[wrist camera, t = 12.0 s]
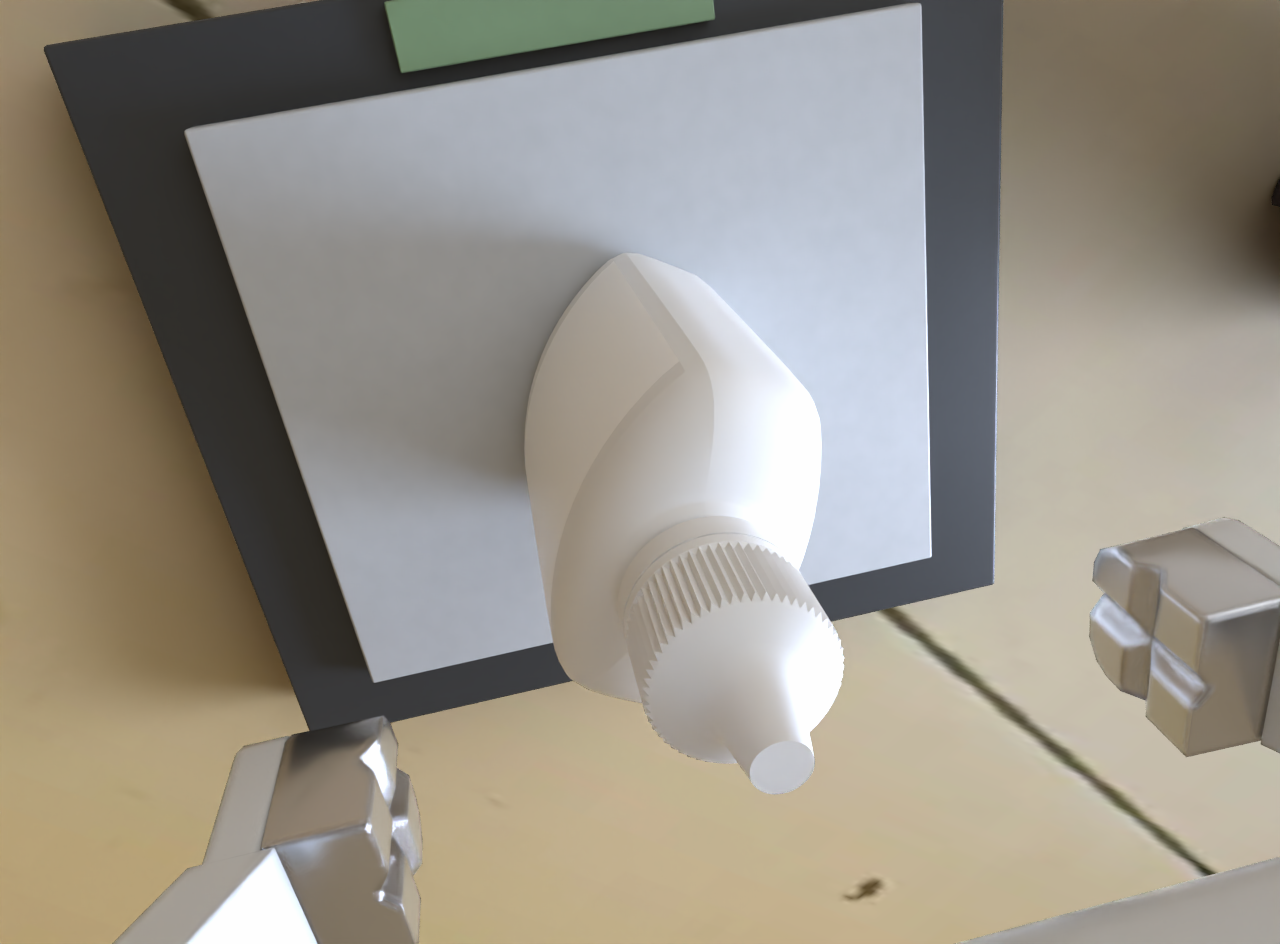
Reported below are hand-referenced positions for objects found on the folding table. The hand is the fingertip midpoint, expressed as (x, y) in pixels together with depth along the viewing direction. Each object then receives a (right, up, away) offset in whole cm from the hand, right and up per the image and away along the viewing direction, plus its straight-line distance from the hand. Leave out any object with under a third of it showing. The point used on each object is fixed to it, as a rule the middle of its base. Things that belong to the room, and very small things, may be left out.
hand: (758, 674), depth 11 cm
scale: (-2, +5, +12) cm, 13 cm away
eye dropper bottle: (-2, +4, +10) cm, 11 cm away
